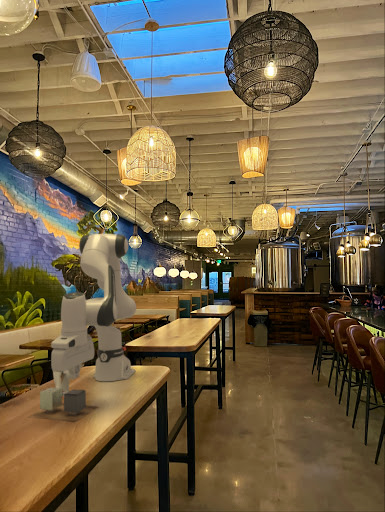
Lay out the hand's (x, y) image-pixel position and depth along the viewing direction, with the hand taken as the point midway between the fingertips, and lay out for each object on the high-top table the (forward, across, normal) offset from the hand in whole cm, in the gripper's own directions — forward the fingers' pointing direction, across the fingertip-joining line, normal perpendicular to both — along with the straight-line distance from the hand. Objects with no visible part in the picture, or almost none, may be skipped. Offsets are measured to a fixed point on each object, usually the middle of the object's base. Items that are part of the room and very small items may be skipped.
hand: (74, 377), depth 130 cm
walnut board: (+13, 0, -4) cm, 14 cm away
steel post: (+12, +1, 0) cm, 12 cm away
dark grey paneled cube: (+11, +1, 0) cm, 11 cm away
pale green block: (+12, +1, -10) cm, 16 cm away
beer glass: (+14, -17, -19) cm, 29 cm away
